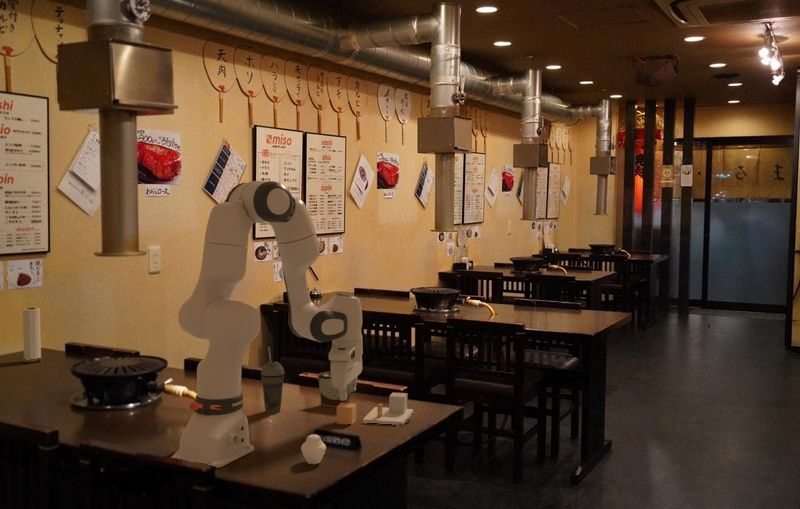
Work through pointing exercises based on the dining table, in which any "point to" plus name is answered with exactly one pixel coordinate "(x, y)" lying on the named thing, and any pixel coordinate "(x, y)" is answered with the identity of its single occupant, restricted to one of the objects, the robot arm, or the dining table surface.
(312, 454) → the muffin
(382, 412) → the plate
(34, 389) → the dining table surface
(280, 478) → the dining table surface
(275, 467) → the dining table surface
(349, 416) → the orange cube
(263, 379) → the beverage cup
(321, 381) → the food container
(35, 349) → the paper towel roll
